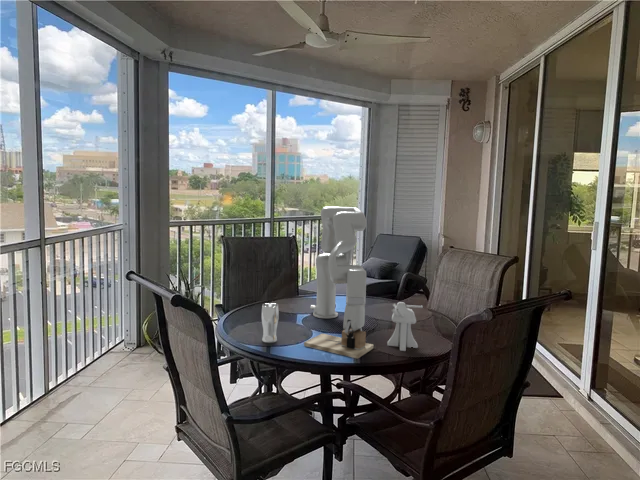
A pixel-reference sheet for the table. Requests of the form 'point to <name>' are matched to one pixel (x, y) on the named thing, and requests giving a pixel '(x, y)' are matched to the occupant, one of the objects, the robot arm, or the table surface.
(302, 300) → the table surface
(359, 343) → the block
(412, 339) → the toy gun turret
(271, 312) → the beer glass
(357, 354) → the board
